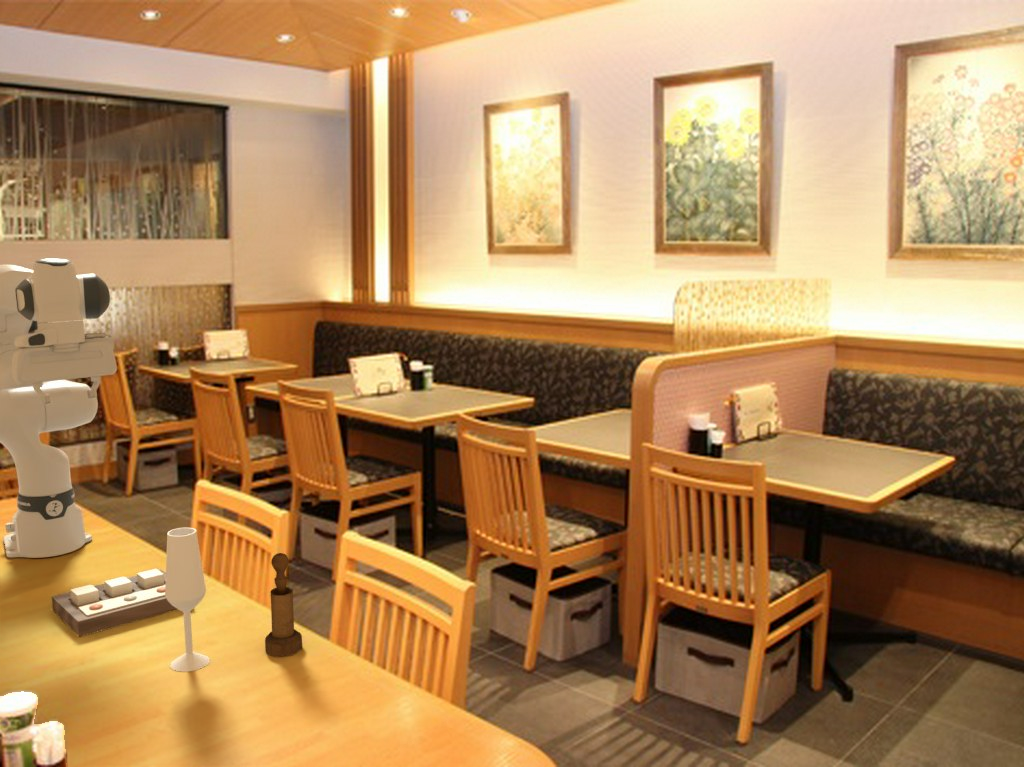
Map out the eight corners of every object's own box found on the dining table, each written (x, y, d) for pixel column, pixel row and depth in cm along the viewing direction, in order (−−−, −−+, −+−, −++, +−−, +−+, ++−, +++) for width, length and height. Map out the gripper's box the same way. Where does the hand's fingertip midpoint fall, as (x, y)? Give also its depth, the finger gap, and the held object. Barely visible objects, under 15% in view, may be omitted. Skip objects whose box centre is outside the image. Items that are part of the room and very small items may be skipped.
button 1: (71, 603, 189) (70, 589, 188) (92, 598, 192) (91, 584, 191) (78, 610, 186) (77, 595, 186) (99, 604, 189) (98, 590, 188)
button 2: (137, 587, 198) (136, 573, 197) (157, 582, 200) (156, 568, 200) (145, 592, 195) (144, 578, 194) (164, 587, 197) (163, 573, 197)
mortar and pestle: (297, 657, 170) (293, 560, 167) (261, 657, 171) (256, 560, 168) (305, 641, 177) (302, 547, 174) (271, 640, 177) (266, 547, 174)
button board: (52, 610, 191) (51, 596, 190) (161, 582, 205) (160, 569, 205) (79, 636, 179) (78, 621, 178) (193, 605, 193) (192, 591, 193)
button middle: (105, 595, 193) (104, 581, 193) (125, 590, 196) (124, 576, 195) (112, 601, 190) (111, 586, 190) (132, 595, 193) (131, 581, 192)
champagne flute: (196, 650, 173) (188, 523, 169) (217, 661, 169) (210, 531, 165) (162, 664, 168) (153, 532, 164) (183, 675, 164) (175, 541, 160)
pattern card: (78, 608, 184) (78, 606, 184) (170, 584, 196) (169, 582, 196) (87, 616, 181) (86, 614, 181) (180, 591, 192) (179, 589, 192)
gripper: (107, 331, 211) (114, 394, 212) (5, 339, 197) (13, 406, 199) (117, 331, 206) (124, 395, 207) (14, 339, 192) (22, 407, 194)
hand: (69, 400), depth 203 cm, fingers open, 8 cm apart
